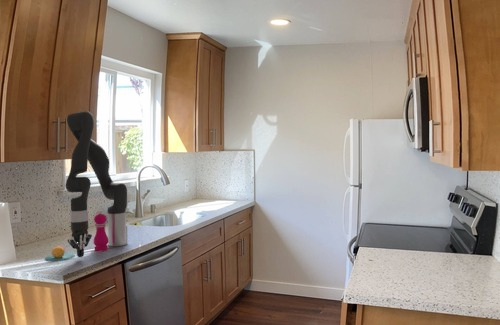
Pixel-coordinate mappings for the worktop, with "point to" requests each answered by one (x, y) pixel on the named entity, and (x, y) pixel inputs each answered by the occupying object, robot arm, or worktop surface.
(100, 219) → the pepper mill
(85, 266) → the worktop surface
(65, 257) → the disc
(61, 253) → the ball
